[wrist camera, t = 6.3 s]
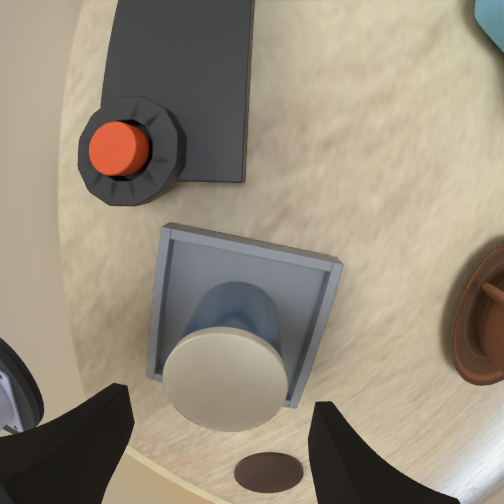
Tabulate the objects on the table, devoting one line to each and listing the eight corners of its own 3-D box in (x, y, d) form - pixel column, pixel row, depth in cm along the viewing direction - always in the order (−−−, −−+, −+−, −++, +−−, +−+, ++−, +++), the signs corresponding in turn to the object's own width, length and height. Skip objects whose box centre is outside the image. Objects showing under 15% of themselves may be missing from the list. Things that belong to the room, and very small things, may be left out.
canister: (188, 348, 20) (159, 417, 13) (200, 271, 19) (167, 320, 12) (269, 365, 20) (271, 440, 13) (290, 289, 19) (303, 347, 12)
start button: (148, 175, 14) (134, 175, 13) (104, 176, 14) (87, 176, 13) (151, 124, 14) (138, 119, 12) (107, 128, 14) (89, 123, 12)
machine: (244, 202, 19) (238, 209, 14) (113, 199, 19) (76, 206, 14) (258, -57, 14) (256, -96, 10) (146, -48, 15) (127, -81, 10)
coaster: (229, 485, 24) (229, 488, 24) (241, 447, 23) (241, 451, 22) (292, 492, 24) (292, 495, 24) (312, 455, 23) (312, 459, 22)
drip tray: (153, 365, 21) (145, 377, 20) (169, 222, 19) (161, 226, 17) (294, 394, 21) (296, 408, 20) (337, 257, 19) (343, 264, 17)
